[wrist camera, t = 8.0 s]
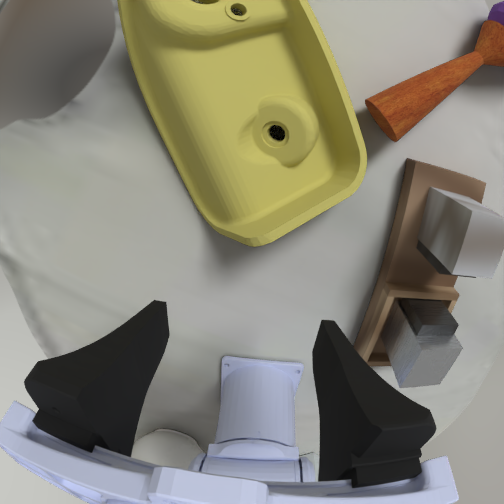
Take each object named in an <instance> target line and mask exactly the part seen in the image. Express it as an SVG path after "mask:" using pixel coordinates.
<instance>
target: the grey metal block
mask: <svg viewBox="0 0 504 504" xmlns="http://www.w3.org/2000/svg"><path fill="white" fill-rule="evenodd" d="M457 327H458V323H457V322H456V320H455V319H454V317H453V316H452V315H451V313H450V312H449V310H448V309H447V308H446V306H445V305H444V303H443V302H442V301H441V300H434V299H417V298H402V300H401V301H396V302H395V304H394V307H393V309H392V312H391V314H390V317H389V319H388V322H387V324H386V327H385V329H384V331H383V334H382V336H381V339H382V341H383V344H384V347H385V349H386V352H387V354H388V357H389V360H390V362H391V365H392V368H393V371H394V373H395V376H396V379H397V382H398V385H399V387H400V388H407V387H418V386H428V385H437V384H440V383H441V381H442V380H443V379H444V377H445V376H446V374H447V373H448V371H449V370H450V368H451V366H452V365H453V363H454V362H455V360H456V359H457V357H458V355H459V354H460V352H461V350H462V349H463V347H462V346H461V344H460V342H459V341H458V339H457V338H456V336H455V334H454V333H455V331H456V329H457Z"/></svg>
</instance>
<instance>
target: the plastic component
mask: <svg viewBox="0 0 504 504" xmlns="http://www.w3.org/2000/svg"><path fill="white" fill-rule="evenodd" d="M117 1H118V8H119V14H120V20H121V25H122V30H123V34H124V38H125V43H126V47H127V50H128V54H129V57H130V60H131V64H132V67H133V70H134V73H135V76H136V79H137V81H138V84H139V87H140V89H141V92H142V94H143V97H144V99H145V102H146V104H147V107H148V109H149V111H150V114H151V116H152V118H153V120H154V122H155V124H156V126H157V128H158V130H159V133H160V135H161V137H162V139H163V141H164V143H165V145H166V147H167V149H168V151H169V153H170V155H171V157H172V159H173V161H174V163H175V165H176V168H177V170H178V172H179V174H180V176H181V178H182V180H183V182H184V184H185V186H186V188H187V190H188V192H189V194H190V196H191V198H192V200H193V202H194V203H195V205H196V207H197V208H198V210H199V212H200V213H201V214H202V216H203V217H204V219H205V220H206V221H207V222H208V223H209V225H210V226H211V227H212V228H213V229H214V230H216V231H217V232H218V233H220V234H222V235H224V236H227V237H229V238H231V239H234V240H236V241H238V242H241V243H243V244H245V245H248V246H252V247H256V246H262V245H265V244H268V243H271V242H273V241H275V240H276V239H278V238H280V237H281V236H283V235H285V234H287V233H288V232H290V231H292V230H293V229H295V228H297V227H298V226H300V225H302V224H304V223H305V222H307V221H309V220H310V219H312V218H314V217H315V216H317V215H319V214H321V213H322V212H324V211H326V210H327V209H329V208H331V207H332V206H334V205H336V204H338V203H339V202H341V201H343V200H344V199H346V198H348V197H349V196H351V195H352V194H353V193H354V192H355V191H356V190H357V189H358V187H359V186H360V184H361V183H362V180H363V178H364V175H365V172H366V167H367V153H366V147H365V143H364V140H363V137H362V133H361V130H360V127H359V124H358V121H357V118H356V115H355V112H354V109H353V106H352V103H351V100H350V97H349V95H348V92H347V89H346V86H345V84H344V81H343V78H342V76H341V73H340V71H339V68H338V66H337V63H336V61H335V59H334V56H333V54H332V51H331V49H330V47H329V45H328V42H327V40H326V38H325V36H324V34H323V31H322V29H321V27H320V25H319V23H318V21H317V19H316V17H315V15H314V13H313V11H312V9H311V7H310V5H309V3H308V1H307V0H198V1H200V2H203V3H204V4H199V3H196V2H193V1H191V0H117ZM231 8H237V9H239V10H240V11H241V12H242V15H243V16H237V15H235V14H233V13H232V12H231ZM272 125H278V126H281V127H282V128H283V129H284V131H285V138H284V139H283V140H280V141H277V140H275V139H273V138H272V137H271V135H270V128H271V126H272Z"/></svg>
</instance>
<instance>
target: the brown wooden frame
mask: <svg viewBox="0 0 504 504" xmlns="http://www.w3.org/2000/svg"><path fill="white" fill-rule="evenodd" d="M485 186H486V183H484V182H482V181H480V180H478V179H475V178H472V177H469V176H466V175H463V174H460V173H457V172H454V171H451V170H447V169H444V168H441V167H437V166H434V165H430V164H427V163H423V162H420V161H416V160H412V159H408V158H407V161H406V167H405V172H404V178H403V183H402V187H401V192H400V197H399V201H398V206H397V210H396V214H395V218H394V223H393V226H392V230H391V234H390V238H389V242H388V245H387V249H386V252H385V256H384V259H383V263H382V266H381V269H380V273H379V276H378V279H377V282H376V285H375V288H374V291H373V294H372V297H371V300H370V303H369V306H368V309H367V312H366V315H365V317H364V320H363V323H362V325H361V328H360V331H359V333H358V336H357V338H356V341H355V344H354V346H353V347H354V348H355V350H356V351H357V352H358V354H359V355H360V356H361V357H362V358H363V359H364V361H365V362H366V363H367V364H368V365H369V366H392V365H391V362H390V360H389V357H388V354H387V352H386V349H385V347H384V344H383V341H382V339H381V336H382V334H383V331H384V329H385V327H386V324H387V322H388V319H389V317H390V314H391V312H392V309H393V307H394V304H395V302H396V301H401V300H402V298H417V299H434V300H441V301H442V302H443V303H444V305H445V306H446V308H447V309H448V310H449V312H450V313H451V312H452V310H453V308H454V306H455V304H456V301H457V299H458V297H459V293H458V292H457V291H456V290H455V289H454V285H455V282H456V280H457V277H458V276H463V277H473V278H476V277H482V278H491V279H492V278H493V276H494V273H495V271H496V268H497V266H498V263H499V260H500V258H501V255H502V252H503V249H504V217H502V216H501V215H499V214H498V213H496V212H494V211H493V210H491V209H489V208H487V207H486V206H484V205H482V204H481V203H482V199H483V195H484V190H485Z"/></svg>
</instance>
